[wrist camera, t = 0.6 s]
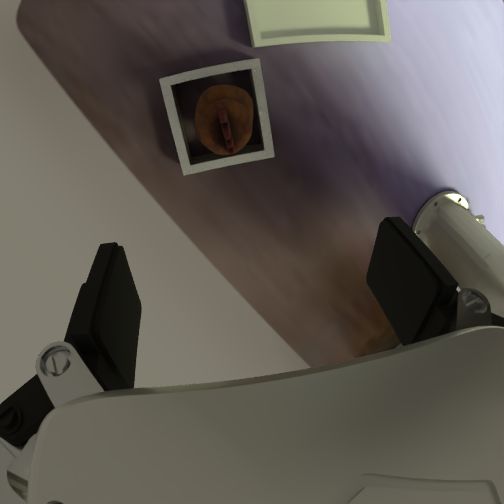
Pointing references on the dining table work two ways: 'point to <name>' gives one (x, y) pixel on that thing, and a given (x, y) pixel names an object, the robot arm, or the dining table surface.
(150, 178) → the dining table surface
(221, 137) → the brown lumpy elongated piece
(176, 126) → the white square bin
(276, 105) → the dining table surface
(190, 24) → the dining table surface
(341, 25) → the sage tray
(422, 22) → the dining table surface
